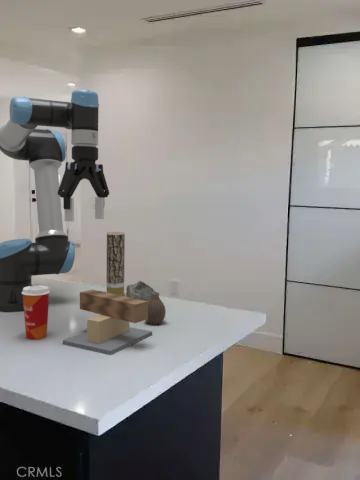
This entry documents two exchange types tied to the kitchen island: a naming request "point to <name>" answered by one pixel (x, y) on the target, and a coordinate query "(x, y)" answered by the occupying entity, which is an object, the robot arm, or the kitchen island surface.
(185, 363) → the kitchen island surface
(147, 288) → the mineral rock
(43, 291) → the paper cup
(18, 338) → the kitchen island surface
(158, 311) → the vase
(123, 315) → the walnut bar
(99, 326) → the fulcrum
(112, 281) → the paper tube
